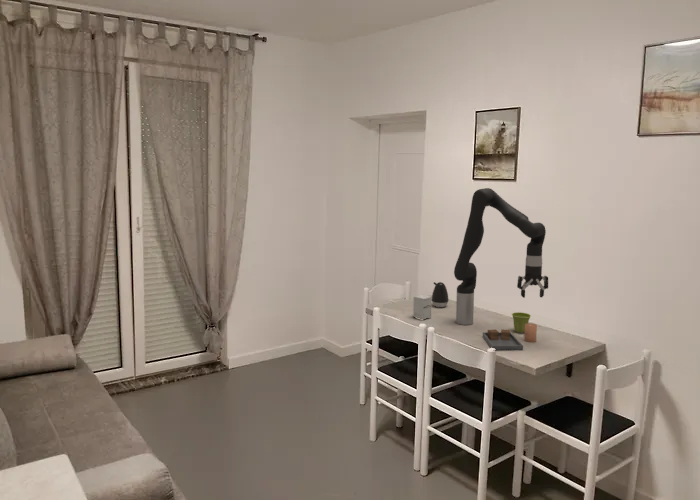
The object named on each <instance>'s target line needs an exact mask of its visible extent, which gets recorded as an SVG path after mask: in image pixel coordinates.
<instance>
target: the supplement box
mask: <svg viewBox="0 0 700 500" xmlns="http://www.w3.org/2000/svg"><path fill="white" fill-rule="evenodd" d="M412 315H413V316H414V317H417V318H420V319H425V318H430V317H431V318H432V296H430V295H429V296H428V295H425V294H420V295H415V296H413V314H412ZM413 316H412V317H413ZM431 318H430V319H431Z"/></svg>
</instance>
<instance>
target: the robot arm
mask: <svg viewBox="0 0 700 500" xmlns="http://www.w3.org/2000/svg"><path fill="white" fill-rule="evenodd" d="M471 198H472V199H471V206H470V211H469V212H470V213H469V216H468V221H467V225H466V228H465V229H466V230H465V232H464V237H463V240H462V241H463V242H462V245H461V249H460V251H459V255H458V258H457V259H456V263H455V266H454V271H453V274H454V278H455V279H456V280H457V281H461V283H460V284H459V285H457V287H456V306H455V307H456V310H455V323H456V324H458V325H462V326H463V325H464V326H469V325H472V324H474V309H475V308H474V305H475V290H476V286H477V276H478V275H477V273H478V271H477V267H476V265H475V264H474V263H473V262H470V261H471V259H472V257H473V255H474V254H475V253H476V252H477V250H479V247H480V246H481V244H482V240H483V237H484V233H485V232H484V231H485V227H484V223H483V222H484V221H483V216H484V213H485V210H486V208H487V207H491V208H493V209H496V210H497V211H498V212H499V213H500V214H501V215H502V217H504V219H505V220H506V221H507V222H509V224H512V225H513V226H514V227H515V228H518V230H519V231H521V233H522V234H523V235H525V236H526V237H527V238H530V240H529V242H528V243H527V244H526V257H525V266H524V267H525V269H524V270H525V271H524V276H522V275H519V276H517V285H516V287H517V288H518V290H520V296H521V297H522V298H525V297H526V288H528V287H529V286H538V287H539V288H540V289H539V298H543V297H544V296H545V290H547V289H549V277H548V276H547V275H543V276H542V273H543V269H542V268H543V244H544V242H545V239H546V233H547V231H546V227H545V225H544V224H543V223H542V222H532V221H530V220H529V217H528V216H527V215H526V214H525V213H523V212H521V210H520V211H519V209H516V207H514V206H512V205H511V204H510V203H508V202H507V201H506V200H504V198H503V197H502V196H500V195H499V194H498V193H497V192H496V191H495V190H494V189H492V188H490V187H489V188H488V187H487V188H479V189H477V190H475V192H474V193H473V195H472V197H471ZM524 280H525V281H524ZM523 281H524V283H523ZM542 281H543V284H542V283H541V282H542Z"/></svg>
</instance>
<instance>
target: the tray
mask: <svg viewBox="0 0 700 500" xmlns="http://www.w3.org/2000/svg"><path fill="white" fill-rule="evenodd" d="M498 332H499V340H490V339H489V338H488V331H487V332H486V331H485V332H482V334H481V335H482V338H483V340H484V341H485V342H486V343H487V344H488V346H489V347H490V348H491V347H492V348H495V349H496V350H495V351H524V345H523V344H522V343H521V341H519V340H518V338H517V337H515V335H513V334H512V332H511V331H510V340H501V331H498Z"/></svg>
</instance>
